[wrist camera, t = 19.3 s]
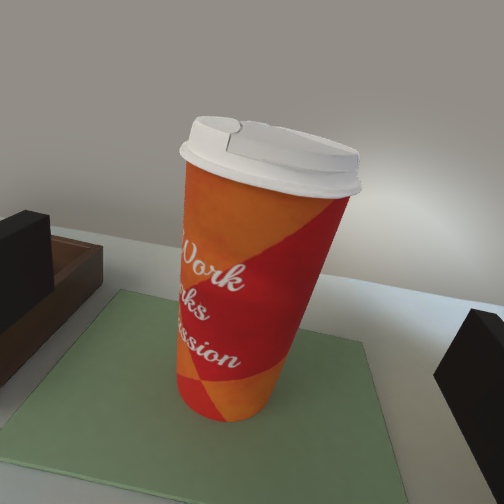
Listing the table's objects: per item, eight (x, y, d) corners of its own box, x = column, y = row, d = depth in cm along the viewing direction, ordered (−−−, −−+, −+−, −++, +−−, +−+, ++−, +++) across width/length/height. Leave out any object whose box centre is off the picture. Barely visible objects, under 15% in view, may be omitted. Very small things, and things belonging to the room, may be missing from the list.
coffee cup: (153, 338, 23) (174, 105, 17) (265, 333, 26) (319, 131, 20) (160, 456, 16) (199, 136, 10) (311, 433, 19) (418, 171, 13)
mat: (360, 344, 28) (361, 342, 28) (419, 555, 15) (422, 552, 15) (120, 292, 28) (120, 289, 28) (-19, 456, 15) (-20, 452, 15)
